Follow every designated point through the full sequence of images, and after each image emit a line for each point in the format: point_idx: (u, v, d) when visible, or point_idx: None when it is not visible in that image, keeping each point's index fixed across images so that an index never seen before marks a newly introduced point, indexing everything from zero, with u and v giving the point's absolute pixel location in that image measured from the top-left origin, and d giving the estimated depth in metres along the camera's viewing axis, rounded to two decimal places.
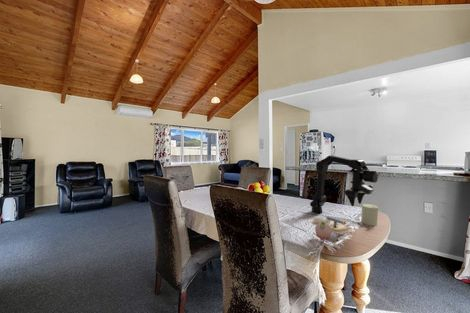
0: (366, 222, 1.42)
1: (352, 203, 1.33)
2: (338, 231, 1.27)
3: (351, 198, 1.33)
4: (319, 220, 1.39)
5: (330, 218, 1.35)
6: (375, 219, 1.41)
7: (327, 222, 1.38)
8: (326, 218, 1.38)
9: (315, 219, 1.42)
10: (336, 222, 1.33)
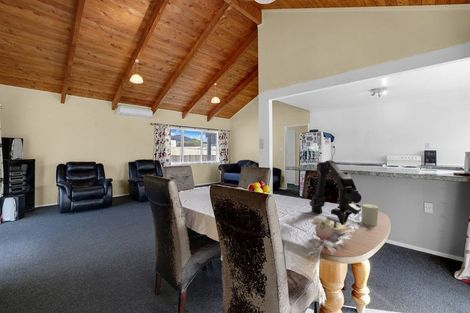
0: (366, 222, 1.42)
1: (342, 222, 1.28)
2: (338, 231, 1.27)
3: (340, 217, 1.28)
4: (319, 220, 1.39)
5: (330, 218, 1.35)
6: (375, 219, 1.41)
7: (327, 222, 1.38)
8: (326, 218, 1.38)
9: (315, 219, 1.42)
10: (336, 222, 1.33)
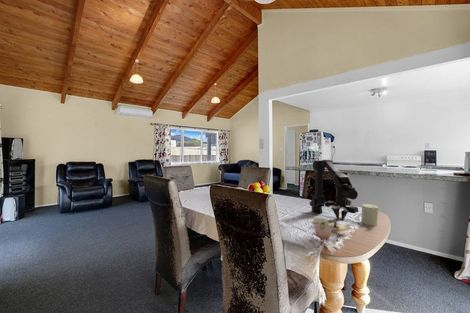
0: (366, 222, 1.42)
1: None
2: (338, 231, 1.27)
3: (344, 213, 1.34)
4: (319, 220, 1.39)
5: (333, 220, 1.32)
6: (375, 219, 1.41)
7: (327, 222, 1.38)
8: (330, 222, 1.30)
9: (315, 219, 1.42)
10: None
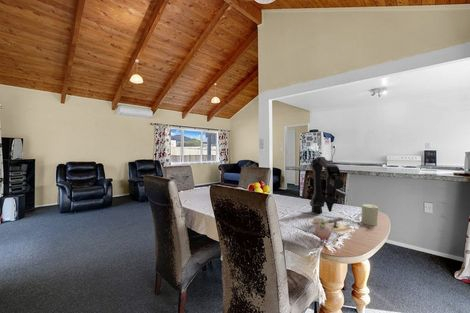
0: (366, 222, 1.42)
1: (330, 209, 1.34)
2: (338, 231, 1.27)
3: (329, 204, 1.33)
4: (319, 220, 1.39)
5: (333, 220, 1.32)
6: (375, 219, 1.41)
7: (327, 222, 1.38)
8: (331, 222, 1.30)
9: (315, 219, 1.42)
10: None
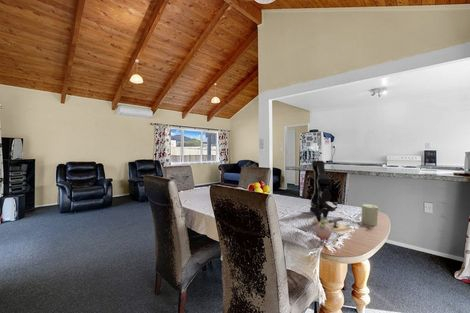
0: (366, 222, 1.42)
1: (318, 219, 1.39)
2: (338, 231, 1.27)
3: (317, 214, 1.39)
4: None
5: (333, 220, 1.32)
6: (375, 219, 1.41)
7: (327, 222, 1.38)
8: (331, 222, 1.30)
9: (315, 219, 1.42)
10: None
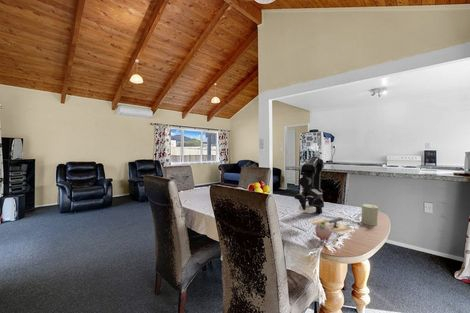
0: (366, 222, 1.42)
1: (303, 207, 1.34)
2: (338, 231, 1.27)
3: (302, 202, 1.34)
4: None
5: (333, 220, 1.32)
6: (375, 219, 1.41)
7: (312, 210, 1.33)
8: (331, 222, 1.30)
9: (300, 207, 1.37)
10: None
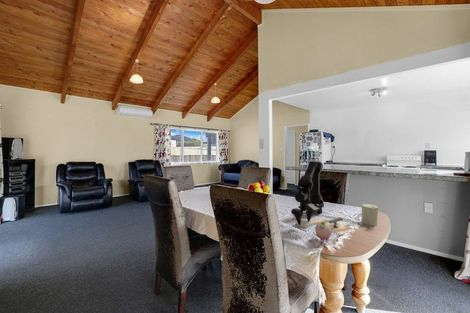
0: (366, 222, 1.42)
1: (298, 222, 1.34)
2: (338, 231, 1.27)
3: (297, 217, 1.34)
4: (301, 224, 1.35)
5: (333, 220, 1.32)
6: (375, 219, 1.41)
7: (309, 226, 1.34)
8: (331, 222, 1.30)
9: (297, 223, 1.37)
10: None
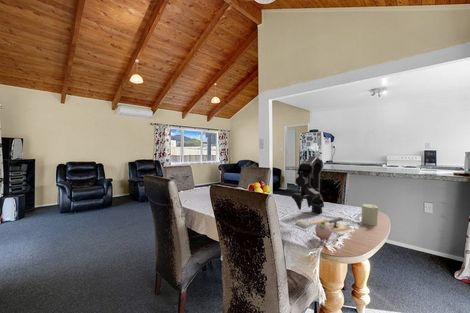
0: (366, 222, 1.42)
1: (299, 207, 1.33)
2: (338, 231, 1.27)
3: (298, 202, 1.33)
4: (301, 224, 1.35)
5: (333, 220, 1.32)
6: (375, 219, 1.41)
7: (309, 226, 1.34)
8: (331, 222, 1.30)
9: (297, 223, 1.37)
10: None
